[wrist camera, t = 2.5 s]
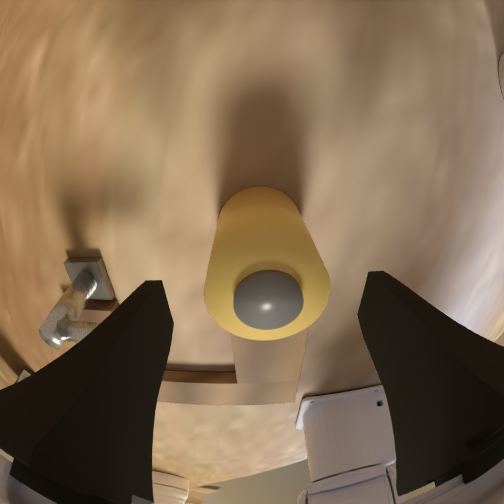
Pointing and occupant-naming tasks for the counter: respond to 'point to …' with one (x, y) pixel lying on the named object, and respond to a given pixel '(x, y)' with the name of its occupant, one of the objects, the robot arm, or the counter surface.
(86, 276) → the hook arm
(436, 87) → the counter surface
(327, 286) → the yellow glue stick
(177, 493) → the honey pot
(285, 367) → the brown u-shaped board
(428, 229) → the counter surface
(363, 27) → the counter surface
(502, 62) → the coffee cup
